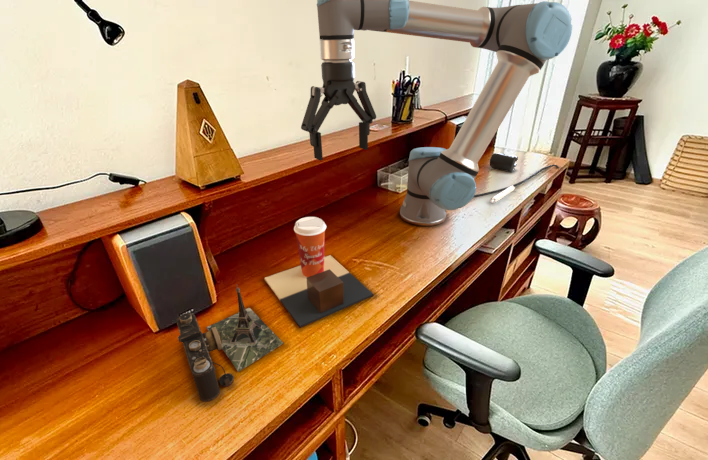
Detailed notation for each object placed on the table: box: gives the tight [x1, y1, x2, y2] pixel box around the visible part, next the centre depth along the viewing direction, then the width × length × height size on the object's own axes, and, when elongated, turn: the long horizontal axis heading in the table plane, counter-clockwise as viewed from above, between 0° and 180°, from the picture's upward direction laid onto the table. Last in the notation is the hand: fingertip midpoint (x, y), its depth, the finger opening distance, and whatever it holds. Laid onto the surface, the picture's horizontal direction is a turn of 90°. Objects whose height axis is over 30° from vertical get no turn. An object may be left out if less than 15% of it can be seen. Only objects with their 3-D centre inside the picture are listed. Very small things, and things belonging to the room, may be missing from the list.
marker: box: [489, 185, 516, 204], centre depth 135 cm, size 18×2×2 cm, turn 136°
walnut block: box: [306, 269, 344, 313], centre depth 81 cm, size 6×6×6 cm
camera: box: [176, 312, 235, 403], centre depth 66 cm, size 16×7×8 cm, turn 33°
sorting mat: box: [263, 254, 374, 329], centre depth 88 cm, size 19×20×1 cm
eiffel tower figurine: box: [206, 285, 285, 373], centre depth 70 cm, size 15×10×13 cm
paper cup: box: [293, 216, 327, 277], centre depth 89 cm, size 8×8×14 cm
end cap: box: [489, 152, 519, 173], centre depth 161 cm, size 10×7×7 cm
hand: (341, 153), depth 92 cm, fingers open, 13 cm apart
